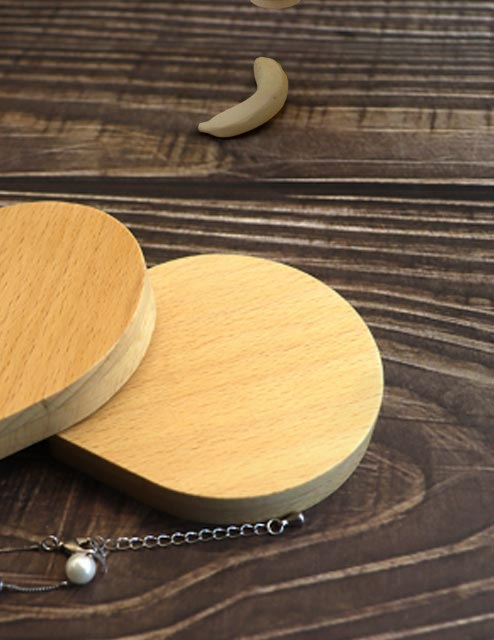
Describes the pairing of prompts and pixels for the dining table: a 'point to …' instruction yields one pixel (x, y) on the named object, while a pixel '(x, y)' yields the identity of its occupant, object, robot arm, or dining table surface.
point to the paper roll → (275, 3)
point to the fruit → (253, 102)
